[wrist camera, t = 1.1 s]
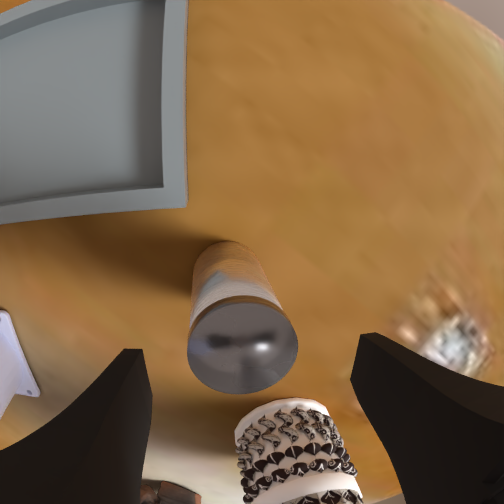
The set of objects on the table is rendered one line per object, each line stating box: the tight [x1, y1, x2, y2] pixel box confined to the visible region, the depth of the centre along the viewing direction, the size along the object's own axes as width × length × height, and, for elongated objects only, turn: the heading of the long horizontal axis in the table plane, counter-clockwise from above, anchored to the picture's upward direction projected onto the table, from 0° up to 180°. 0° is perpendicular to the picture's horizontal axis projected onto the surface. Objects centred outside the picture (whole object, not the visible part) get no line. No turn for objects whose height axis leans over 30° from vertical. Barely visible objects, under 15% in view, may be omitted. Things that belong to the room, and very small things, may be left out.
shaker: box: [187, 241, 298, 394], centre depth 15 cm, size 4×4×8 cm
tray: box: [0, 0, 189, 225], centre depth 13 cm, size 16×13×2 cm
